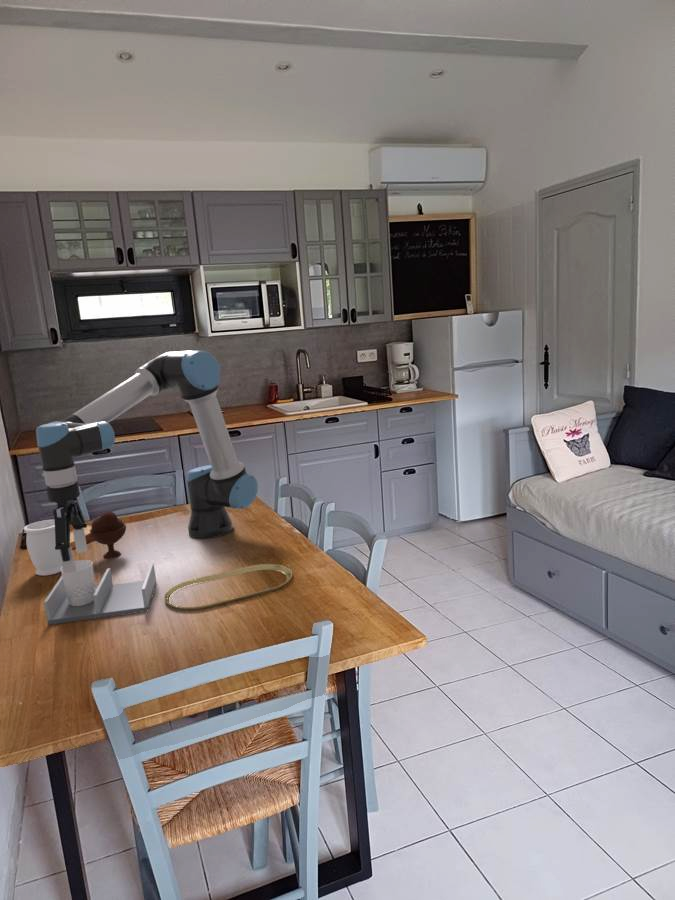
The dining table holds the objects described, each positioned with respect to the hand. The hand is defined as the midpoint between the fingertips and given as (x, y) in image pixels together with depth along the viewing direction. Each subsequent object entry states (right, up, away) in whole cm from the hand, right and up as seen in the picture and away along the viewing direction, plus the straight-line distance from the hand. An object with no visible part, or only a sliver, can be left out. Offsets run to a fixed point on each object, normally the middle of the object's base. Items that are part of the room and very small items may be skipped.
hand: (76, 561), depth 165 cm
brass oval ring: (+39, -9, +7) cm, 41 cm away
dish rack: (+7, -11, +3) cm, 14 cm away
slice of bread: (-21, -3, +57) cm, 61 cm away
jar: (-20, -8, +29) cm, 36 cm away
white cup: (+1, -11, +2) cm, 11 cm away
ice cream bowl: (-4, -5, +38) cm, 39 cm away
